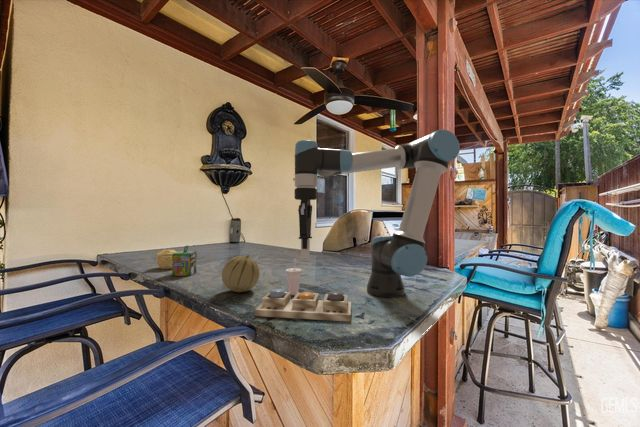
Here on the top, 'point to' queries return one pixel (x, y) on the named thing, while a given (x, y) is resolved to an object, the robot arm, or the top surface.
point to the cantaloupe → (240, 274)
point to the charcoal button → (335, 296)
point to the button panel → (305, 308)
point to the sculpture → (165, 259)
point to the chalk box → (184, 263)
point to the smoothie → (293, 279)
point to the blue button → (277, 293)
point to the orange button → (306, 295)
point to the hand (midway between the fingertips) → (305, 258)
